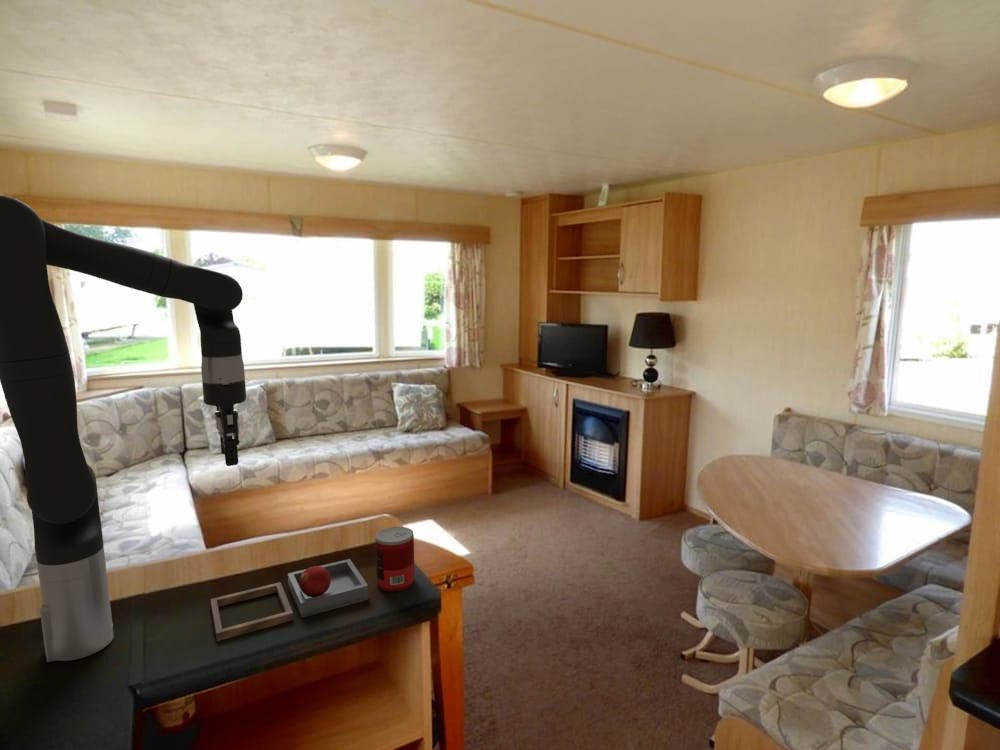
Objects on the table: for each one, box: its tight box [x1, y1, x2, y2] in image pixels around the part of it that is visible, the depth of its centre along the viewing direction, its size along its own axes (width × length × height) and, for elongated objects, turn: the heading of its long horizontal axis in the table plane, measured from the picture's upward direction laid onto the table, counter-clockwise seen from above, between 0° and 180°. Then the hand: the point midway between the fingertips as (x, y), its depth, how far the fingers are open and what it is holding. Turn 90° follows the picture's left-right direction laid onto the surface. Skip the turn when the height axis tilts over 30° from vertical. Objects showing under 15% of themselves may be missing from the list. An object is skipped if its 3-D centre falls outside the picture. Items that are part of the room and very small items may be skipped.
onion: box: [299, 565, 331, 597], centre depth 115 cm, size 6×6×8 cm
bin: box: [287, 558, 370, 618], centre depth 119 cm, size 13×13×3 cm
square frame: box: [210, 581, 294, 642], centre depth 112 cm, size 13×13×2 cm
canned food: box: [374, 526, 415, 592], centre depth 123 cm, size 8×8×11 cm
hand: (229, 459), depth 116 cm, fingers open, 8 cm apart
